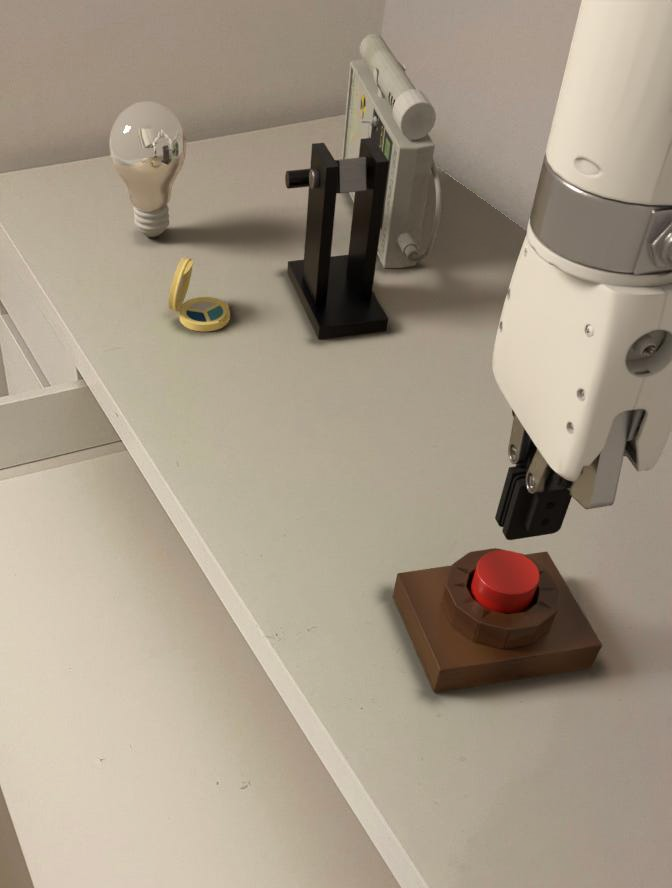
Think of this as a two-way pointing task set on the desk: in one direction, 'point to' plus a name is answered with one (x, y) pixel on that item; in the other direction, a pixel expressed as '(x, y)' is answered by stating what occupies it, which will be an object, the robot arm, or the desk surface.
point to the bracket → (347, 276)
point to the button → (505, 581)
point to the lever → (348, 176)
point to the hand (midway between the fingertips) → (526, 526)
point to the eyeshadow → (196, 303)
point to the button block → (492, 627)
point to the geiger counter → (393, 147)
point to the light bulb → (148, 161)
